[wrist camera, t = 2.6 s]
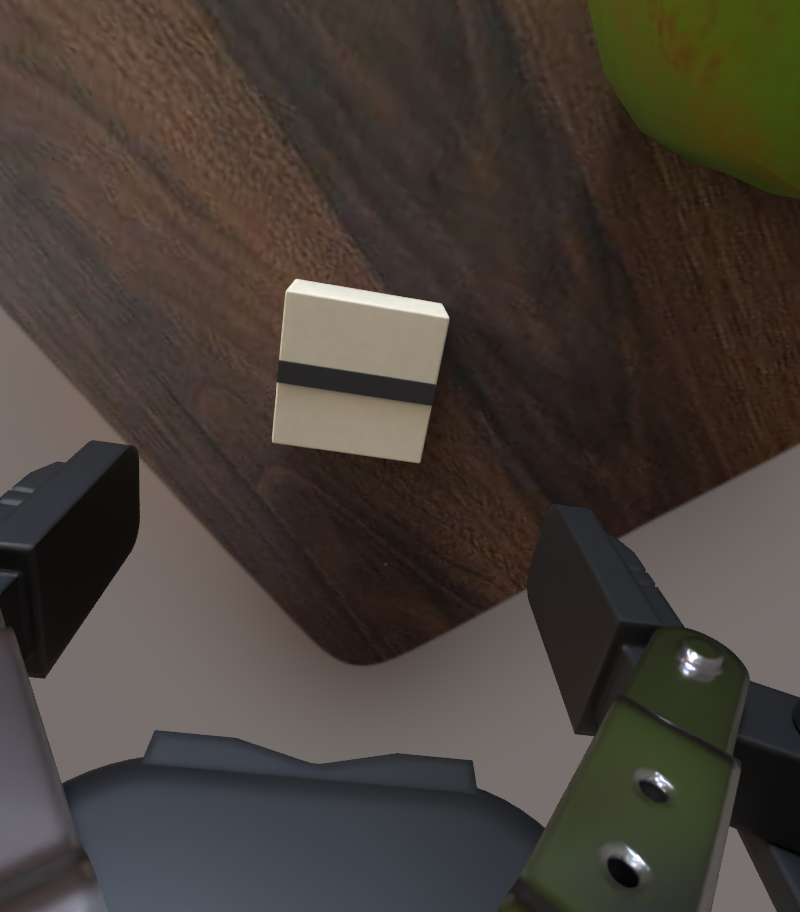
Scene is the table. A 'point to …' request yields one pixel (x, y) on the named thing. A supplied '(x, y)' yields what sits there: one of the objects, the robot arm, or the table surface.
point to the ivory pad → (357, 371)
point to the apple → (710, 81)
